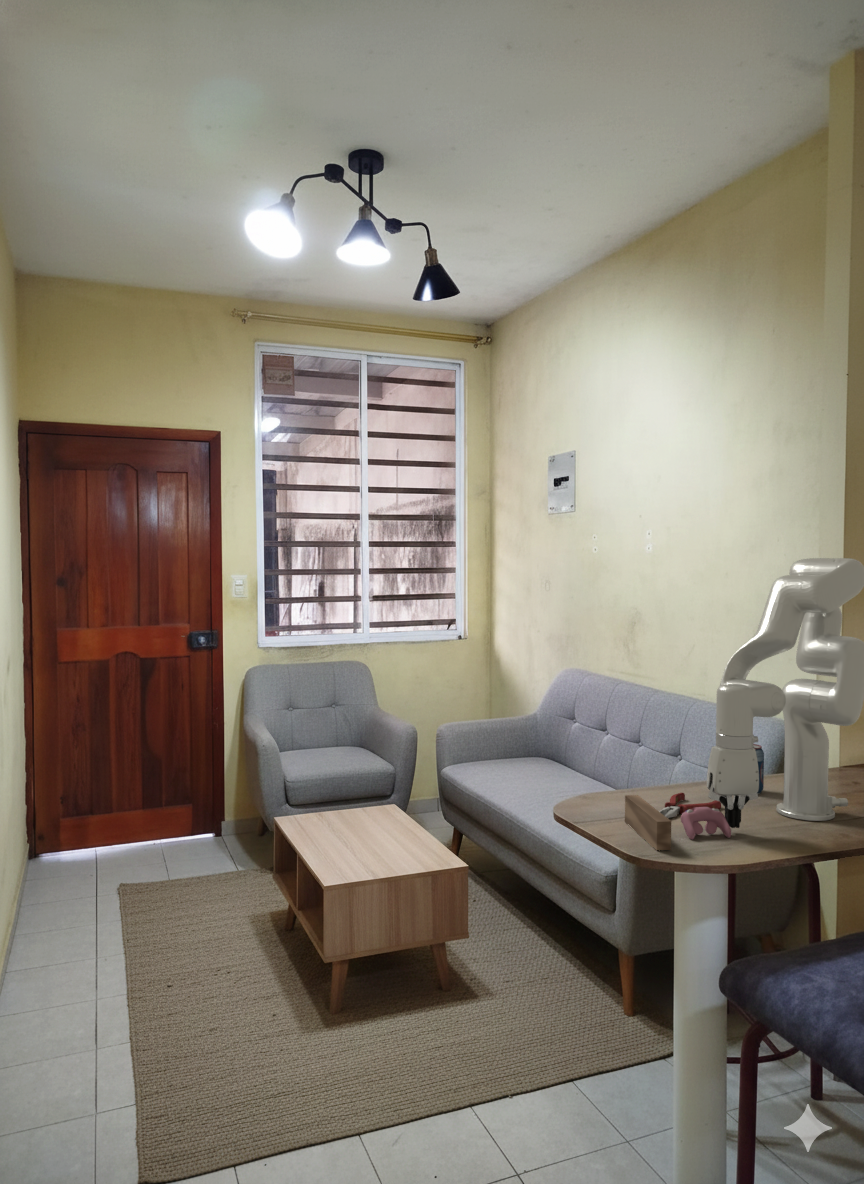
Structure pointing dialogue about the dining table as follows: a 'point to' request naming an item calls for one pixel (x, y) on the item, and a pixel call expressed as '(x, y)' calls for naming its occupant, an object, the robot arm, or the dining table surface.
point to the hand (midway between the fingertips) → (732, 825)
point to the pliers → (684, 806)
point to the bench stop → (648, 822)
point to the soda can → (760, 765)
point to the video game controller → (710, 815)
